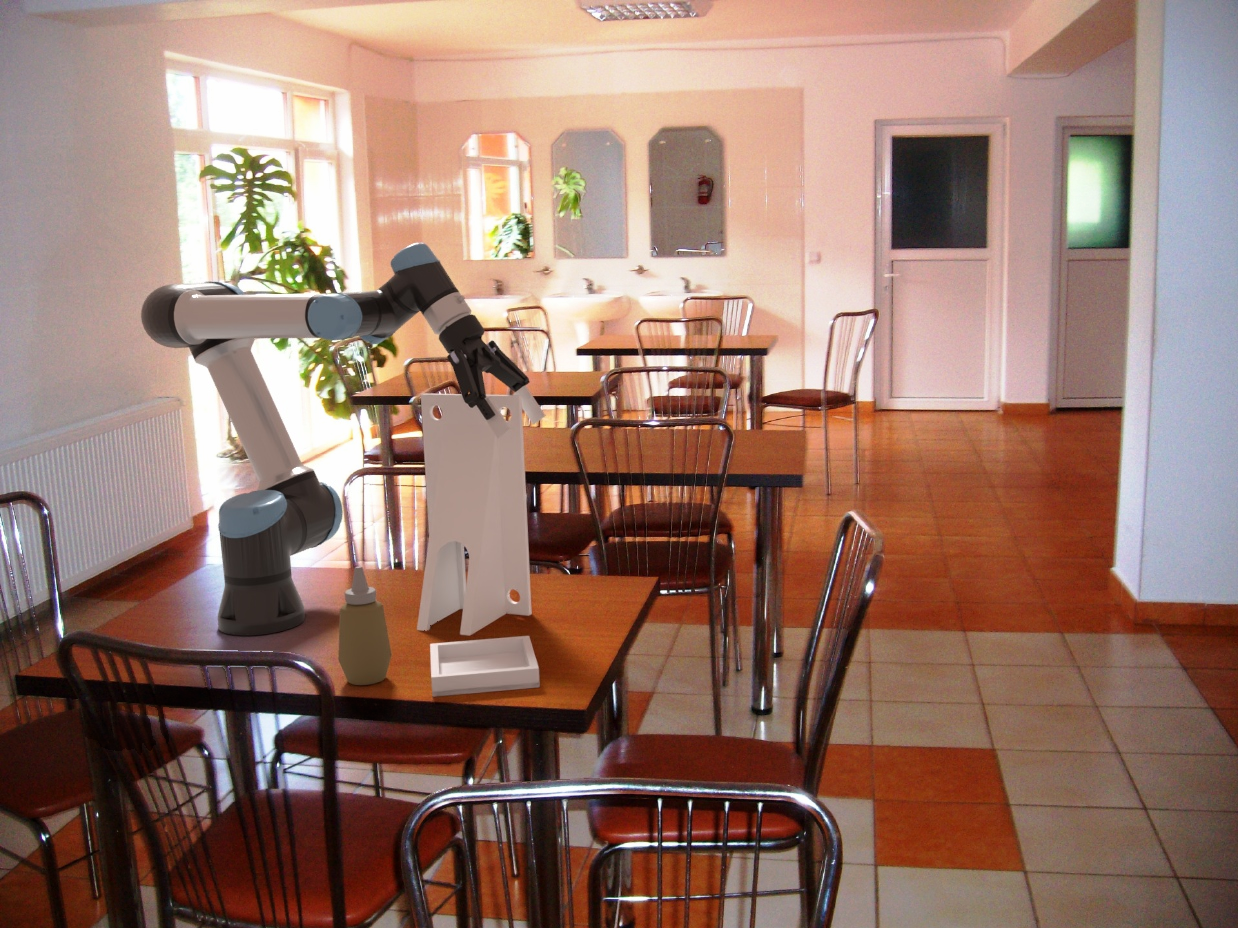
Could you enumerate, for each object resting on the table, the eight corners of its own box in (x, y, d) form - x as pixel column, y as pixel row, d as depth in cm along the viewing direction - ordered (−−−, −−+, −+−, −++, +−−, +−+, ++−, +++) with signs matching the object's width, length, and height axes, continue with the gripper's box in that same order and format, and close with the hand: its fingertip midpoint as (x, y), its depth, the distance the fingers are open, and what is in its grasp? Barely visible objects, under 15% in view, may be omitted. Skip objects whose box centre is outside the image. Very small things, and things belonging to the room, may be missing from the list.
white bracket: (394, 627, 212) (379, 403, 206) (436, 604, 226) (423, 393, 219) (493, 638, 205) (481, 405, 198) (531, 614, 218) (521, 395, 211)
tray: (432, 696, 178) (431, 677, 178) (431, 661, 194) (430, 643, 193) (539, 687, 181) (538, 668, 180) (529, 653, 196) (529, 635, 196)
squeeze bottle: (380, 690, 182) (372, 575, 179) (331, 687, 183) (322, 573, 180) (400, 671, 190) (393, 561, 186) (353, 669, 191) (345, 560, 188)
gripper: (433, 318, 195) (505, 427, 194) (503, 306, 217) (567, 404, 217) (402, 344, 198) (472, 451, 197) (474, 330, 221) (537, 426, 220)
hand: (522, 426), depth 207 cm, fingers open, 13 cm apart
